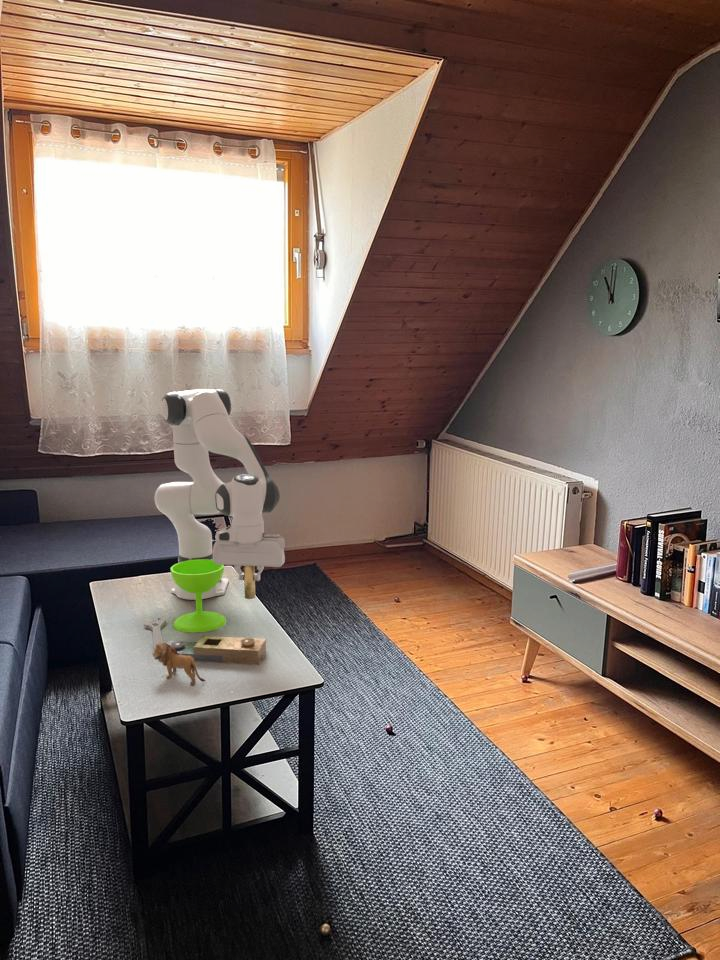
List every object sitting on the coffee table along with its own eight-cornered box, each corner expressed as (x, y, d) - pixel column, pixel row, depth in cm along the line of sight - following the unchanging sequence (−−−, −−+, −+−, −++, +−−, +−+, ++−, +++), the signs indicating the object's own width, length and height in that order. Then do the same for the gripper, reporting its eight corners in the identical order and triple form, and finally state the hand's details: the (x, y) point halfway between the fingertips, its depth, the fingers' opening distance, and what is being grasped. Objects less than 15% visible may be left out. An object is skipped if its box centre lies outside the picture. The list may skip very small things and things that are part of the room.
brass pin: (246, 595, 215) (245, 561, 213) (256, 595, 215) (255, 562, 213) (243, 598, 212) (242, 564, 210) (253, 599, 212) (252, 565, 210)
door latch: (170, 647, 213) (169, 630, 212) (266, 652, 209) (265, 635, 208) (159, 658, 205) (158, 641, 204) (258, 664, 201) (258, 647, 200)
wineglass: (177, 636, 221) (174, 577, 218) (169, 617, 235) (166, 562, 232) (231, 628, 227) (229, 571, 223) (220, 610, 241) (218, 557, 238)
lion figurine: (150, 678, 193) (148, 645, 192) (162, 670, 198) (161, 638, 197) (199, 687, 188) (198, 654, 187) (211, 678, 193) (209, 645, 192)
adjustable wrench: (164, 654, 210) (163, 648, 209) (140, 656, 208) (140, 650, 208) (166, 621, 234) (166, 615, 233) (145, 622, 232) (144, 617, 232)
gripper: (286, 531, 211) (287, 577, 214) (216, 528, 214) (218, 574, 217) (281, 537, 205) (282, 585, 208) (209, 534, 208) (211, 582, 211)
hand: (249, 579), depth 213 cm, fingers closed on brass pin, 3 cm apart
